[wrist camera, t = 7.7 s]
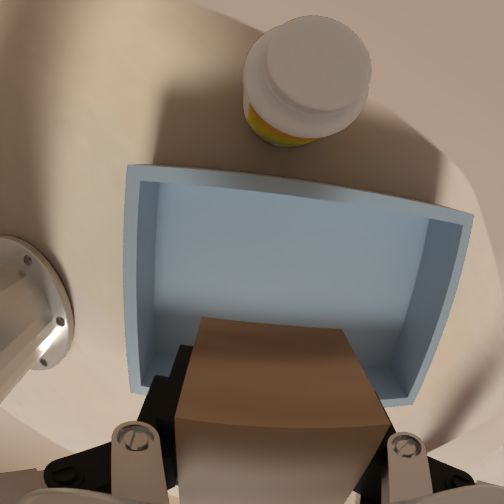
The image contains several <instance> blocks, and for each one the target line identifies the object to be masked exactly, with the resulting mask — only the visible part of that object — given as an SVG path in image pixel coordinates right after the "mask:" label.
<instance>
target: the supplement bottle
mask: <svg viewBox="0 0 504 504" xmlns="http://www.w3.org/2000/svg"><path fill="white" fill-rule="evenodd" d="M370 78H371V60H370V57H369V53H368V51H367V49H366V47H365V45H364V44H363V42H362V40H361V39H360V38H359V37H358V36H357V34H355V33H354V32H353V31H352V30H351V29H350V28H348V27H347V26H345V25H344V24H342V23H340V22H338V21H336V20H333V19H330V18H327V17H322V16H302V17H298V18H295V19H292V20H290V21H288V22H286V23H285V24H283V25H280V26H277V27H275V28H273V29H271V30H269V31H268V32H266V33H265V34H263V35H262V36H261V37H260V38H259V39H258V40H257V41H256V42H255V43H254V44H253V46H252V47H251V49H250V51H249V53H248V55H247V57H246V60H245V64H244V69H243V110H244V115H245V118H246V121H247V123H248V125H249V126H250V128H251V129H252V130H253V132H254V133H255V134H256V135H257V136H259V137H260V138H261V139H263V140H264V141H266V142H268V143H270V144H272V145H275V146H280V147H296V146H301V145H304V144H307V143H310V142H313V141H315V140H318V139H321V138H324V137H327V136H330V135H333V134H335V133H337V132H339V131H341V130H343V129H344V128H346V127H347V126H349V125H350V124H351V123H352V122H353V121H354V120H355V119H356V118H357V117H358V116H359V114H360V113H361V111H362V109H363V107H364V105H365V103H366V99H367V96H368V86H369V82H370Z"/></svg>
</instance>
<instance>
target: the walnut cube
mask: <svg viewBox="0 0 504 504" xmlns="http://www.w3.org/2000/svg"><path fill="white" fill-rule="evenodd" d="M390 425H391V423H390V421H389V419H388V417H387V415H386V413H385V411H384V409H383V407H382V405H381V403H380V401H379V399H378V397H377V395H376V393H375V391H374V390H373V388H372V386H371V384H370V382H369V380H368V378H367V376H366V374H365V372H364V370H363V368H362V366H361V364H360V362H359V360H358V359H357V357H356V355H355V353H354V351H353V349H352V347H351V345H350V343H349V342H348V340H347V338H346V336H345V334H344V332H343V330H342V329H333V328H317V327H302V326H289V325H277V324H265V323H255V322H244V321H235V320H225V319H217V318H208V317H202V318H201V321H200V325H199V328H198V332H197V335H196V339H195V343H194V346H193V350H192V354H191V357H190V361H189V365H188V368H187V372H186V376H185V379H184V383H183V387H182V391H181V395H180V398H179V402H178V406H177V410H176V414H175V439H176V457H177V472H178V486H179V497H180V504H344V503H345V501H346V500H347V498H348V497H349V495H350V494H351V492H352V491H353V489H354V488H355V486H356V485H357V483H358V481H359V480H360V478H361V477H362V475H363V473H364V472H365V470H366V468H367V467H368V465H369V463H370V461H371V460H372V458H373V456H374V454H375V453H376V451H377V449H378V447H379V445H380V444H381V442H382V440H383V438H384V436H385V434H386V432H387V430H388V429H389V427H390Z"/></svg>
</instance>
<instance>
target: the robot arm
mask: <svg viewBox="0 0 504 504" xmlns="http://www.w3.org/2000/svg"><path fill="white" fill-rule="evenodd" d="M73 332H74V324H73V314H72V310H71V305H70V301H69V299H68V296H67V293H66V291H65V288H64V286H63V284H62V282H61V280H60V279H59V277H58V275H57V273H56V272H55V270H54V269H53V267H52V266H51V265H50V263H49V262H48V261H47V260H46V259H45V257H44V256H43V255H42V254H41V253H40V252H39V251H38V250H36V249H35V248H34V247H33V246H31V245H30V244H29V243H27V242H25V241H23V240H21V239H19V238H16V237H12V236H0V404H1V402H2V401H3V400H4V399H5V397H6V396H7V395H8V394H9V393H10V392H11V390H12V389H13V388H14V387H15V386H16V384H17V383H18V382H19V381H20V380H21V379H22V377H23V376H24V375H25V374H26V373H27V372H28V371H29V369H31V370H47V369H51V368H53V367H54V366H56V365H57V364H59V363H60V361H61V360H62V359H63V358H64V357H65V355H66V354H67V352H68V351H69V349H70V346H71V343H72V340H73ZM192 350H193V346H190V345H182V344H180V346H179V349H178V352H177V355H176V358H175V361H174V364H173V367H172V370H171V373H170V375H169V377H167V376H161V375H155V376H154V378H153V381H152V383H151V386H150V388H149V391H148V393H147V396H146V398H145V401H144V404H143V406H142V409H141V411H140V414H139V417H138V419H137V421H129V422H125V423H122V424H120V425H119V426H117V427H116V428H115V430H114V431H113V434H112V442H109V443H106V444H103V445H100V446H98V447H95V448H92V449H89V450H86V451H83V452H80V453H76V454H73V455H70V456H67V457H64V458H60V459H57V460H55V461H52V462H51V463H50V464H48V465H47V466H46V468H45V470H43V471H37V469H36V468H34V469H28V470H21V471H14V472H5V473H0V504H169V498H168V492H167V490H169V489H171V488H173V487H175V485H178V472H177V457H176V439H175V414H176V410H177V406H178V402H179V398H180V395H181V391H182V387H183V383H184V379H185V376H186V372H187V368H188V365H189V361H190V357H191V354H192ZM374 391H375V390H374ZM375 393H376V392H375ZM376 395H377V393H376ZM377 397H378V395H377ZM378 399H379V397H378ZM379 401H380V399H379ZM380 403H381V401H380ZM381 405H382V403H381ZM382 407H383V405H382ZM383 409H384V407H383ZM384 411H385V409H384ZM385 413H386V411H385ZM386 415H387V413H386ZM387 417H388V415H387ZM388 419H389V417H388ZM389 421H390V419H389ZM390 423H391V421H390ZM353 491H355V492H357V493H356V500H355V504H504V487H502V486H498V485H494V484H490V483H486V482H482V481H478V480H477V482H476V483H474V480H473V479H472V477H471V476H470V475H469V474H468V473H466V472H464V471H462V470H459V469H457V468H454V467H452V466H449V465H447V464H445V463H442V462H440V461H437V460H435V459H433V458H431V457H429V456H427V453H426V447H425V445H424V442H423V441H422V440H421V439H420V438H419V437H417V436H416V435H414V434H412V433H408V432H398V433H396V431H395V429H394V427H393V425H392V423H391V425H390V427H389V429H388V430H387V432H386V434H385V436H384V438H383V440H382V442H381V444H380V445H379V447H378V449H377V451H376V453H375V454H374V456H373V458H372V460H371V461H370V463H369V465H368V467H367V468H366V470H365V472H364V473H363V475H362V477H361V478H360V480H359V481H358V483H357V485H356V486H355V488H354V489H353Z"/></svg>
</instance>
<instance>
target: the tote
mask: <svg viewBox="0 0 504 504" xmlns="http://www.w3.org/2000/svg"><path fill="white" fill-rule="evenodd" d="M473 218H474V215H473V214H470V213H466V212H463V211H459V210H456V209H452V208H449V207H445V206H441V205H438V204H434V203H429V202H425V201H420V200H415V199H411V198H406V197H401V196H396V195H391V194H386V193H380V192H375V191H370V190H364V189H359V188H353V187H347V186H341V185H335V184H329V183H322V182H316V181H309V180H302V179H295V178H288V177H281V176H273V175H265V174H257V173H248V172H239V171H229V170H220V169H209V168H198V167H186V166H172V165H157V164H137V165H127V174H126V188H125V205H124V231H123V293H124V319H125V336H126V350H127V362H128V373H129V382H130V391H131V393H136V394H141V395H146V396H147V393H148V391H149V388H150V386H151V383H152V381H153V378H154V376H155V375H161V376H167V377H169V375H170V373H171V370H172V367H173V364H174V361H175V358H176V355H177V352H178V349H179V346H180V344H182V345H190V346H194V343H195V339H196V335H197V332H198V328H199V325H200V321H201V318H202V317H208V318H217V319H225V320H235V321H244V322H255V323H265V324H277V325H289V326H302V327H317V328H333V329H342V330H343V332H344V334H345V336H346V338H347V340H348V342H349V343H350V345H351V347H352V349H353V351H354V353H355V355H356V357H357V359H358V360H359V362H360V364H361V366H362V368H363V370H364V372H365V374H366V376H367V378H368V380H369V382H370V384H371V386H372V388H373V390H375V392H376V393H377V395H378V397H379V399H380V401H381V403H382V405H383V407H394V406H404V405H413V402H414V400H415V398H416V396H417V394H418V392H419V390H420V387H421V385H422V383H423V381H424V378H425V376H426V374H427V371H428V369H429V367H430V364H431V362H432V359H433V357H434V354H435V352H436V349H437V346H438V344H439V341H440V338H441V336H442V333H443V330H444V327H445V324H446V321H447V319H448V316H449V312H450V309H451V306H452V303H453V300H454V296H455V293H456V290H457V286H458V283H459V279H460V275H461V272H462V268H463V264H464V260H465V256H466V251H467V247H468V243H469V238H470V233H471V228H472V223H473Z"/></svg>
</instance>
